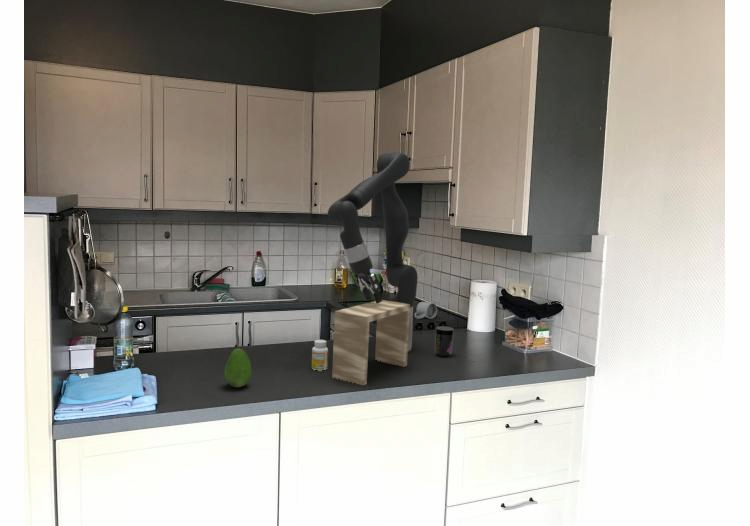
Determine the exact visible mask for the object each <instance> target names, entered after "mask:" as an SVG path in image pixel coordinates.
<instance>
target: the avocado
mask: <svg viewBox="0 0 750 526" xmlns="http://www.w3.org/2000/svg"><path fill="white" fill-rule="evenodd" d="M224 366H225V367H224V379H225V381H226V383H227V384H229V386H231V387H233V388H237V389H238V388H241V387H244V386H245V385H246V384H247V383H248V382H249V381H250V379H251V376H252V364H251V360H250V358H249V356H248V353H247V352H246V351H245V350H243V348H239V347H238V348H235V349H234V350H232V351H231V353H230V355H229V357H228V359H227V361H226V364H225V365H224Z"/></svg>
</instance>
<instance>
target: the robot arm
mask: <svg viewBox="0 0 750 526" xmlns="http://www.w3.org/2000/svg"><path fill="white" fill-rule="evenodd" d="M410 161H411V160H410V159H409V157H408V155H407V154H406V153H403V152H385V153H384V152H383V153H381V154H379V156H378V158H377V161H376V172H377V173H376V174H374V175H372V176H369V177H368V178H366V179H364V180H362V181H361V182H359V184H357V185H356V186H355V187H353V189H352V190H350V191H349V192H348V193H347V194H346V195H344V196H342V197H341V198H339V199H337V200H336V201H334V202H333V203H332V204H331V205H330V207H329V208H328V210H327V218H328V220H329V222H331V224H336V225H342V224H343V230H342V231H341V232H340V233H339V238H340V240H341V241H340V242H341V245H342V246H343V249H344V253H345V257H346V259H347V262H348V266H349V267H350V271H351V273H352V274H353V277H354V280H355V283H356V286H357V288H358V290H360V291H361V292H362V294H363V297H364V301H366V302H370V301H371V300H372V296H373V298H374V301H375V302H376V303H380V302H382V300H383V299H382V296H381V293H380V291H381V290H382V288H381V285H380V282H379V278H378V276H377V273H376V272H375V273H372V272H371V270H372V269H373V268H374V265H373V262H372V260H371V257H370V254H369V251H368V248H367V246H366V244H365V243H364V239H363V237H362V234H361V231H360V220H359V219H360V217H359V213H358V211H359V210H361V209H363V208H364V207H366V206H367V204H368V203H369V202H370V201H371V200H373V199H374V198H375V197H376V196H377V195H378V194H380V195H381V202H382V212H383V213H382V214H383V215H382V216H383V227H384V235H385V248H386V249H385V250H386V254H385V255H386V260H385V261H386V263H385V264H386V265H385V266H386V267H385V269H386V272H385V274H386V279H387V283H388V284H389V285H390V286H392V287H395V288H397V293H396V295H394V296H391V297H390V298H389V301H392V302H398V303H405V304H410V316H409V335H408V352H410V351H411V350H412V347H413V346H412V344H413V329H414V328H413V326H414V325H413V320H414V319H413V317H414V315H413V314H414V302H415V300H416V297H417V288H418V271H417V270H416V268H415V266H414V265H410V264H404V262H403V248H404V244H405V242H406V240H407V237H408V234H409V230H410V225H409V223H410V222H409V214H408V209H407V207H406V206H405V204H404V203H403V201H402V199H401V198H400V195H399V194H398V192H397V189H396V182H397V181H399V180H400V179H402V178H404V177H405V176H406V175H408V172H409V171H410V167H411V163H410ZM371 293H372V295H371Z"/></svg>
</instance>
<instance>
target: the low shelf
mask: <svg viewBox="0 0 750 526" xmlns="http://www.w3.org/2000/svg"><path fill="white" fill-rule="evenodd" d="M409 316H410V304H405V303H398V302H392V301H390V300H385V299H382V302H380V303H376V302H375V300H374V301H369V302H366V303H362V304H358V305H353V306H350V307H347V308H346V307H345V308H342V309H338V310H334V318H333V319H334V320H333V344H332V346H333V348H332V349H333V350H332V374H331V377H332V379H334V378H336V379H335V380H338V379H340V380H339V381H342V380H343V382H346V381H348V382H347V383H350V382H352V383H351V384H354V383H356V384H355V385H358V384H359V386H362V387H363V385H364V386H365V385H368V384H367V383H368V382H367V381H368V366H369V365H368V361H369V358H368V357H369V340H370V323H371V322H375V321H376V330H375V331H376V333H375V334H376V335H375V355H374V361H375V360H377V362H380V361H381V362H380V363H383V364H389V365H395V366H397V365H398V366H399V367H402V368H405V367H407V366H408V352H409V351H408V335H409ZM398 366H397V367H398Z"/></svg>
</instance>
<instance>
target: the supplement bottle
mask: <svg viewBox="0 0 750 526" xmlns="http://www.w3.org/2000/svg"><path fill="white" fill-rule="evenodd" d="M313 345H314V346H313V347H312V348H311V369H313V370H312V371H315V370H318V371H317V372H323V371H322V370H325V371H327V370H328V367H329V364H328V362H329V349H328V347H327V341H326V340H325V339H317V340H314V344H313ZM326 369H327V370H326Z"/></svg>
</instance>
